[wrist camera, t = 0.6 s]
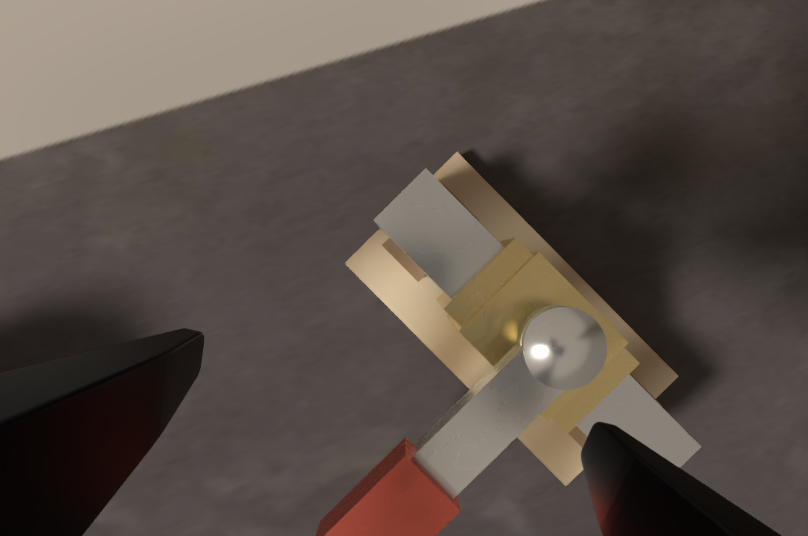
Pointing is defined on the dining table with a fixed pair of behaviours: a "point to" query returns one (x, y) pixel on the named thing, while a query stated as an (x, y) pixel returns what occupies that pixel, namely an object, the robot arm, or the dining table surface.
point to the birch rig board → (429, 322)
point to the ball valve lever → (473, 430)
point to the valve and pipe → (520, 310)
